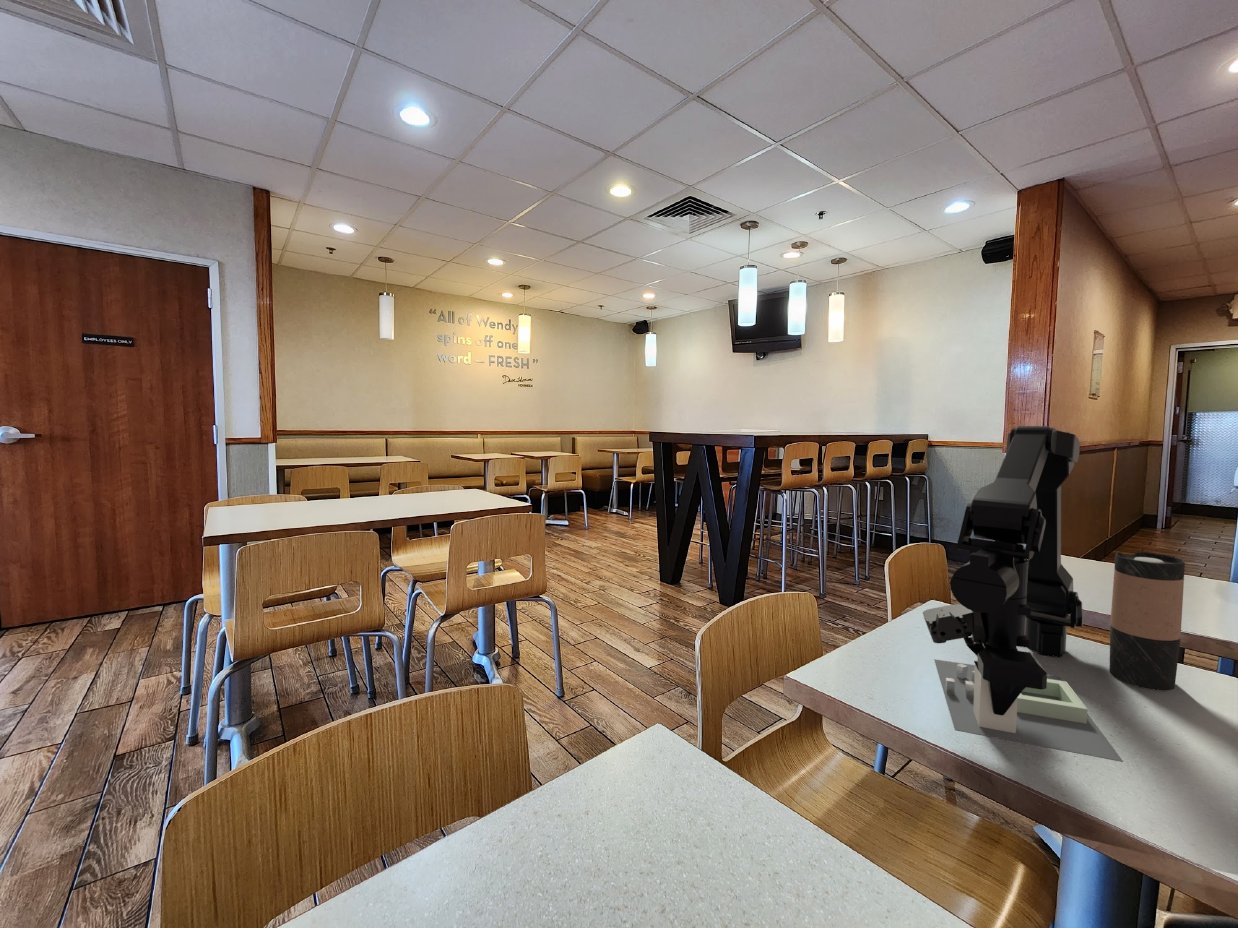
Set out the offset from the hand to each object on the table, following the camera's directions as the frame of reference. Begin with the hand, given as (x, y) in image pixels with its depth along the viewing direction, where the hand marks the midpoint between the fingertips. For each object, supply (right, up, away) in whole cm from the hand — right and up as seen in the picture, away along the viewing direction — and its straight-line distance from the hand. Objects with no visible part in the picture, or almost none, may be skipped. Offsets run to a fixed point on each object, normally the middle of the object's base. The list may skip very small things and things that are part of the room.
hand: (994, 705), depth 72 cm
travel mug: (+30, -2, +11) cm, 32 cm away
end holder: (+10, -2, +5) cm, 11 cm away
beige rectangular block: (0, -2, 0) cm, 2 cm away
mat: (+6, -3, +5) cm, 8 cm away
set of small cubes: (+4, -1, +10) cm, 11 cm away
